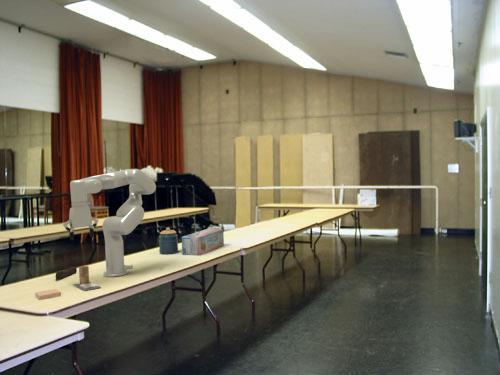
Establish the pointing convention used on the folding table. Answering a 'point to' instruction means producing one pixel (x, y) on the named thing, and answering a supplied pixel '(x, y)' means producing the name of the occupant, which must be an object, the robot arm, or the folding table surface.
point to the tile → (47, 294)
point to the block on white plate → (85, 278)
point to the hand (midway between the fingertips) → (82, 238)
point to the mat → (86, 289)
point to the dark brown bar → (65, 273)
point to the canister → (168, 242)
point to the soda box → (202, 241)
